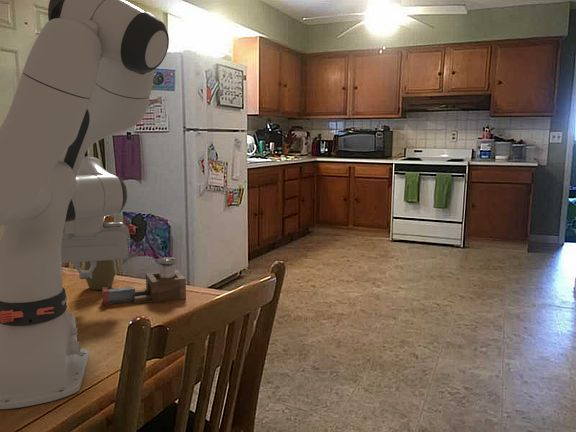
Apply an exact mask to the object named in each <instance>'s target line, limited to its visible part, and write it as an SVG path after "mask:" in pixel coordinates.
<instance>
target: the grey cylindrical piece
mask: <svg viewBox="0 0 576 432" xmlns="http://www.w3.org/2000/svg"><path fill="white" fill-rule="evenodd" d="M176 263H177V258H176V257H171V256H168V257H167V256H166V257H160V258H157V264H158V267H159V271H158V272H159V275H160V280H161V279H170V278H175V270H176Z"/></svg>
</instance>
